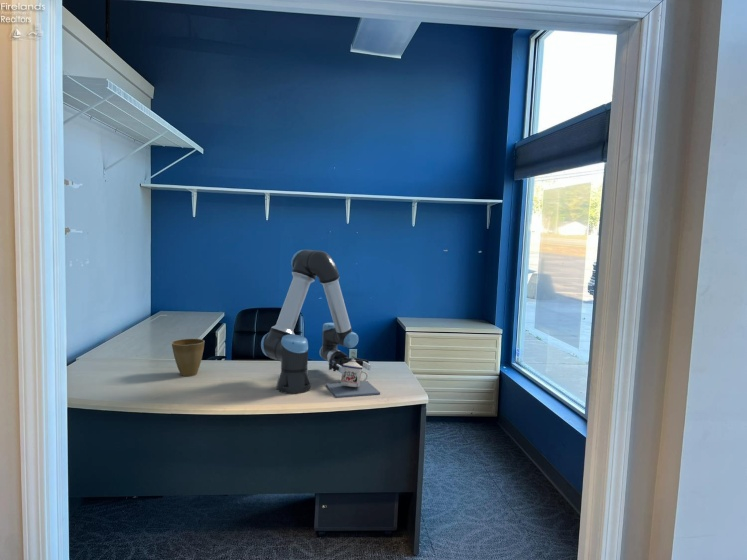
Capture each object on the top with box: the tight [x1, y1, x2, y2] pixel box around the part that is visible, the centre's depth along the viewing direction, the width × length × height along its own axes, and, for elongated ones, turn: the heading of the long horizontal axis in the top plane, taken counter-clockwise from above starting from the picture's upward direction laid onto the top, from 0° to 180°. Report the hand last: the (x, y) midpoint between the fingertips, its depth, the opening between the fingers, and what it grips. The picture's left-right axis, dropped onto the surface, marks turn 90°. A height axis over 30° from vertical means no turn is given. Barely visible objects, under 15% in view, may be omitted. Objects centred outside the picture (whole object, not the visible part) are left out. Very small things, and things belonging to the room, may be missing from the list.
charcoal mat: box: [325, 380, 381, 399], centre depth 237 cm, size 20×18×1 cm
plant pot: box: [171, 338, 205, 377], centre depth 253 cm, size 15×15×16 cm
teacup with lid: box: [340, 360, 369, 387], centre depth 237 cm, size 12×9×12 cm
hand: (356, 369), depth 238 cm, fingers open, 13 cm apart
